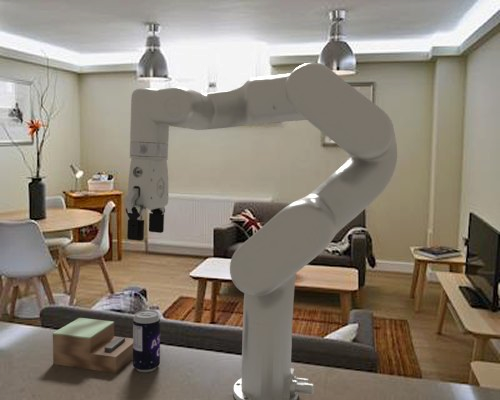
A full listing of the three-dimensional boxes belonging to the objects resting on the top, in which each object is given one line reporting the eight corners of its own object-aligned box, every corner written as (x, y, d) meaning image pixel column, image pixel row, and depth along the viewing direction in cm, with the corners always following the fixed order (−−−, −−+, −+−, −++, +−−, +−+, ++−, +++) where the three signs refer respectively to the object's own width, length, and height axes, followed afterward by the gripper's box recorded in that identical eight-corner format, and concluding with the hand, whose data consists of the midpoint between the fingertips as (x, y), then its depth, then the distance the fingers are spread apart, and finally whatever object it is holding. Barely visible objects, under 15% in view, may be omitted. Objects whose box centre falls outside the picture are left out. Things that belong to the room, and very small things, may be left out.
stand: (137, 353, 109) (137, 324, 108) (116, 373, 99) (116, 340, 98) (79, 346, 112) (79, 317, 111) (53, 364, 102) (52, 332, 102)
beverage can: (153, 375, 98) (153, 319, 97) (128, 372, 100) (128, 316, 98) (163, 363, 104) (164, 310, 103) (139, 360, 105) (140, 308, 104)
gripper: (147, 152, 86) (144, 245, 87) (182, 153, 102) (178, 231, 104) (110, 150, 87) (107, 241, 89) (149, 151, 104) (147, 228, 106)
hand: (146, 235), depth 97 cm, fingers open, 9 cm apart
